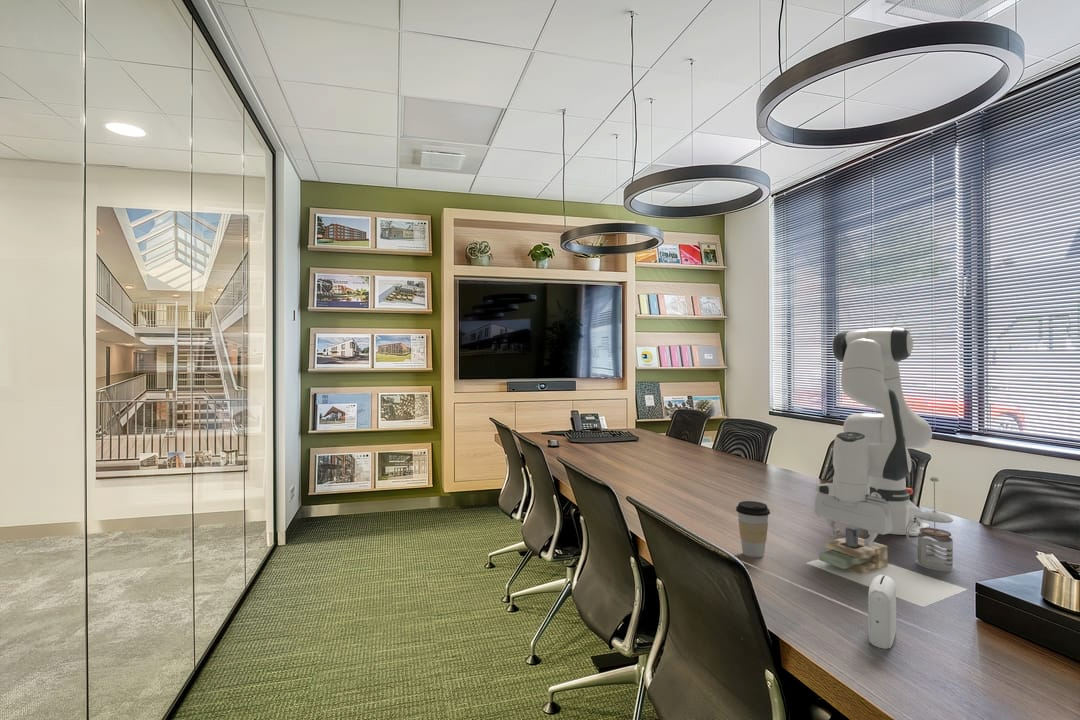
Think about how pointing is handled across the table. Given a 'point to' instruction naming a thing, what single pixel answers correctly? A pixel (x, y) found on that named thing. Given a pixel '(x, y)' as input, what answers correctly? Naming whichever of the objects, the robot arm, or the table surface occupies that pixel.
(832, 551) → the clevis
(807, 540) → the table surface
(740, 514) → the coffee cup
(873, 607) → the white rounded slab
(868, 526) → the robot arm
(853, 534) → the pin
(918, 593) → the mat
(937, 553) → the french press
